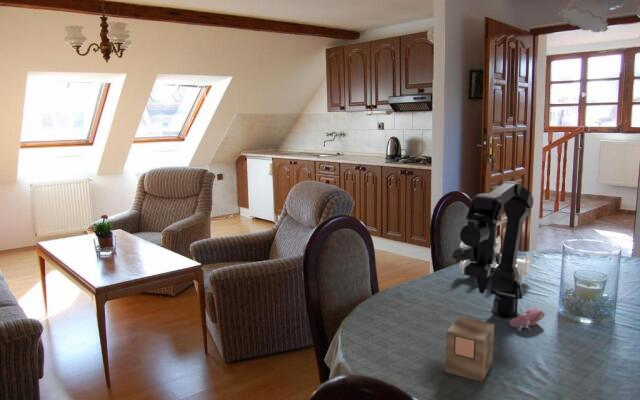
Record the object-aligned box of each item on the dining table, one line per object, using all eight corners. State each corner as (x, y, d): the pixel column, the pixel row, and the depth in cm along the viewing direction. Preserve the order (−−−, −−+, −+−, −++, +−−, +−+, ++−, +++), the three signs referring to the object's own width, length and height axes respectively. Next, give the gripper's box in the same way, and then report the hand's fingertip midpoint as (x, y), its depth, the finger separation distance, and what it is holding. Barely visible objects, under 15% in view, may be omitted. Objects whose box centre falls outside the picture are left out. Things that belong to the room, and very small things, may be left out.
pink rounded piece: (517, 335, 147) (528, 319, 143) (507, 324, 150) (516, 308, 146) (539, 328, 152) (550, 312, 148) (529, 317, 155) (539, 301, 151)
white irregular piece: (521, 300, 180) (455, 284, 194) (534, 269, 191) (471, 255, 205) (520, 263, 170) (450, 248, 185) (534, 232, 181) (467, 220, 196)
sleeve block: (457, 355, 132) (459, 316, 130) (492, 364, 127) (494, 324, 125) (445, 371, 124) (446, 331, 122) (481, 381, 119) (483, 339, 117)
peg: (467, 337, 130) (467, 321, 129) (484, 341, 128) (485, 325, 127) (454, 353, 122) (455, 336, 121) (473, 358, 119) (474, 341, 119)
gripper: (464, 230, 151) (462, 279, 153) (446, 242, 135) (444, 297, 138) (502, 234, 145) (499, 285, 148) (488, 248, 129) (485, 305, 132)
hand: (481, 292), depth 141 cm, fingers closed
